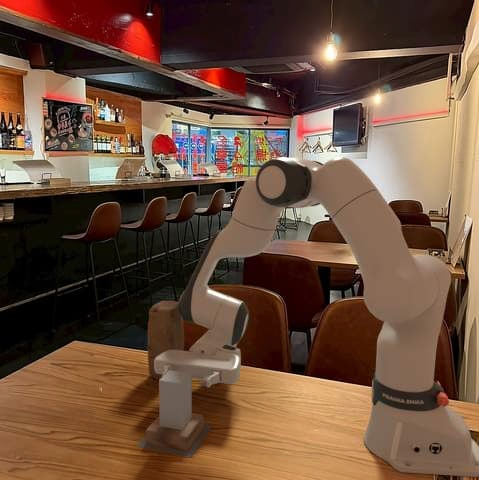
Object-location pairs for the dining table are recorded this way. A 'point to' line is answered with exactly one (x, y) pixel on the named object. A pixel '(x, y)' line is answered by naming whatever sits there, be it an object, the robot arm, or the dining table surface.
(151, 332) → the block
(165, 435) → the base slab
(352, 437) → the dining table surface
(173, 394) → the pillar
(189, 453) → the build pad
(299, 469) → the dining table surface
